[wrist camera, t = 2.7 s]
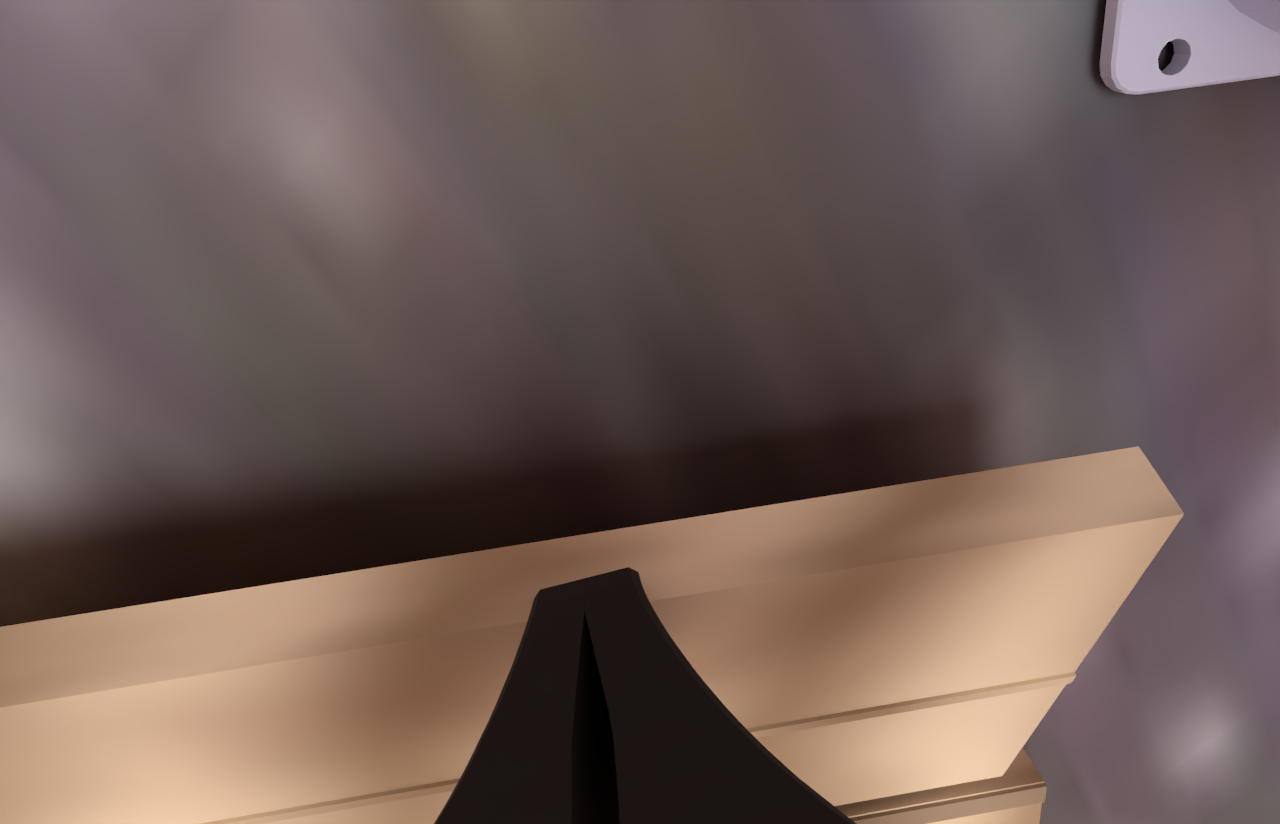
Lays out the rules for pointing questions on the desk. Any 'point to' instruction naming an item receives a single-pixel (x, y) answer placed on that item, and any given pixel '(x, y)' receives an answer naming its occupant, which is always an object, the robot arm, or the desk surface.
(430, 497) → the desk surface
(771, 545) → the loose plank
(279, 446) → the desk surface
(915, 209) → the desk surface
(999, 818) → the laid strip
